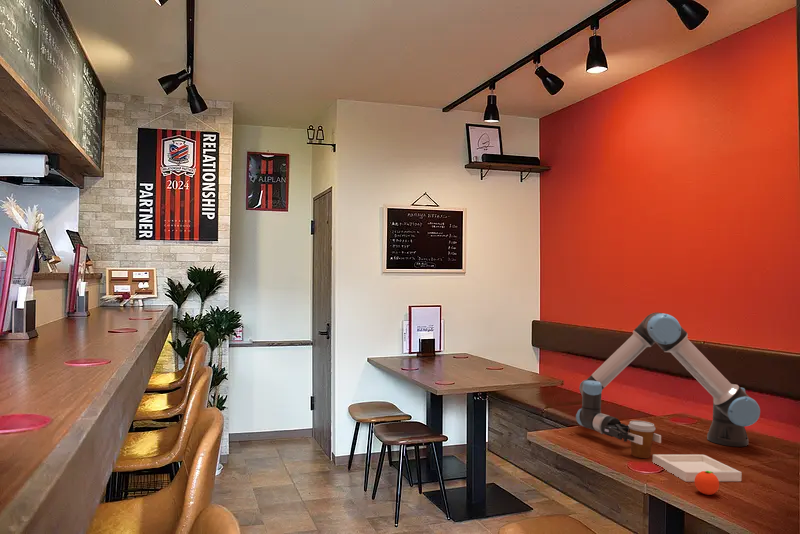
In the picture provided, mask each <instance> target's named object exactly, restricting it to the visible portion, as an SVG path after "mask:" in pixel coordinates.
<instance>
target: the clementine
mask: <svg viewBox="0 0 800 534" xmlns="http://www.w3.org/2000/svg"><path fill="white" fill-rule="evenodd" d="M694 486H695V488H696V489H697V491H698V492H699V493H701V494H703V495H706V496H711V495H714V494H715V493H717V492H718V490H719V489H720V481H719V480H718V478H717V477H716V476H715V475H714V474H713V472H710V471H702V472H700V473H698V474H697V475H696V477H695V482H694Z"/></svg>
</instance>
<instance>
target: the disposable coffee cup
mask: <svg viewBox="0 0 800 534" xmlns="http://www.w3.org/2000/svg"><path fill="white" fill-rule="evenodd" d="M627 425H628V426H629V429H630V433H632V434H635V435H638V436H641V437H643V445H640V444H638V443H635V442H632V441H630V450H631V456H633V457H634V458H635V457H636V458H639V459H650V457H651V453H652V452H651V450H652V445H653V442H654V441H653V435H654V433H655V431H656V427H655V424H654V423H652V422H649V421H646V420H631V421H629V424H627Z"/></svg>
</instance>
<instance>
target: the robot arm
mask: <svg viewBox="0 0 800 534" xmlns="http://www.w3.org/2000/svg"><path fill="white" fill-rule="evenodd" d="M655 344H656V345H658V347H659V348H660V349H661V350H662V351H663V352H664V353H670V354H671V355H672V356H673V357H674V358H675V359H676V360H677V361H678V362H679V364H681V365H682V366H683V367H684V368H685V369H686V371H687V372H689V373H690V375H692V377H693V378H694V379H696V381H697V382H698V383H699V384H700V385H701V386H702V387H703V388H704V390H706V392H708V394H709V395H711V397H712V422H711V425H710V427H709V429H708V432H707V437H706V438H707V439H706V440H707V441H709V442H711V443H713V444H717V445H722V446H726V447H727V446H728V447H738V448H739V447H740V448H743V447H748V446H749V437H748V433H747V431H746V428H745V427H749V426H753V424H755V423H757V421H758V420H759V418H760V416H761V408H760V405H759V404H758V402H757V400H755V399H754V398H752V397H750V396H749V395H748V393H746V389H745V387H740V386H739V385H738V384H734V383H731V382H730V381H729V380H728V379H727V378H726V377H725V376H724V375H723V374H722V373H721V372H720V371H719V370H718V369H717V367H715V366H714V364H712V362H711V361H709V360H708V358H707V357H706V356H705V355H704V354H703V353H702V352H701V351H700V350H699V349H698V347H696V346H695V344H694V343H693V342H691V341H690V340H689V338H688V331H686V330H685V329H684V328H683V327H682V325H681V324H680V322H679V321H678V319H677V318H676V317H674V316H673V315H671V314H668V313H663V312H658V311H657V312H652V313H650V314H647V316H645V317H644V318H643V320H642V321H641V322H640V323H639V324H638V325H637V326H636V327H635V328H634V329H633V330H632V335H631V336H630V337H629V338H628V339H626V341H625V342H624V343H623V344H622V345H620V347H618V348H617V349H616V350H615V351H614V352H613V353H612V354H611V355H609V357H608V358H607V359H606V360H605V361H604V362H603V363H601V365H600V366H599V367H597V369H596V370H595V371H594V372H592V374H590V376H588V377H587V379H584V380H582V382H580V384H579V389H578V390H579V393H580V395H581V398H582V399H581V400H582V401H581V408H579V409H578V410H577V412H576V414H575V420H576V422H577V424H579V426H582V427H584V428H586V429H589V430H593V431H595V432H598V433H600V435H605V436H608V437H611V438H613V437H614V438H616V439H618V440H620V441H621V440H623V442H626V443H627V442H628V441H630V442H631V441H632V442H635V443H638V444H640V445H643V437H641V436H638V435H635V434H632V433H630V429H629V426H628V425H629V424H625V423H622V422H621V421H620V419H619V418H618V417H615V416H612V415H611V416H610V415H609V414H605V413H602V392H603V390H604V389H605V388H606V387H607V386H608V385H609V384H610V383H611V382H612V381H613V380H614V379H615V378H616V377H618V376H619V374H621V372H623V371H624V370H625V369H626V368H627V367H628V366H629V365H630V364H631V363H632V362H633V361H635V359H636V358H637V357H638V356H639V355H640V354H641V353H643V352H644V350H645V349H647V348H651V347H653V345H655ZM652 442H654V443H655V442H656V443H659V444H661V443H662V435H661V434H658V433H655V432H654V435H653V441H652ZM747 445H748V446H747Z"/></svg>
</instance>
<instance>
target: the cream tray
mask: <svg viewBox="0 0 800 534" xmlns="http://www.w3.org/2000/svg"><path fill="white" fill-rule="evenodd" d="M651 462H653V463H652V464H654V463H655V464H657V465H659V466H661V467H663V468H664V469H665V470H664V469H663V470H664V471H666V470H667V471H666V472H668V473H670V474H671V473H672V474H671V475H673V474H674V477H676V478H678V477H679V478H678V479H680V480H682V481H684V482H687V483H689V482H690V483H691V482H692V483H695V477H696V475H697V474H698V473H700V472H702V471H710V472H713V474H714V475H715V476H716V477H717V478H718V480H719V482H742V471H740V470H737V469H736V468H734V467H732V466H729V465H727V464H724V463H723V462H721V461H718V460H716V459H714V458H712V457H710V456H708V455H706V454H652V461H651ZM655 464H654V465H655ZM657 465H656V466H657ZM659 466H658V467H659ZM661 467H660V468H661Z"/></svg>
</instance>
